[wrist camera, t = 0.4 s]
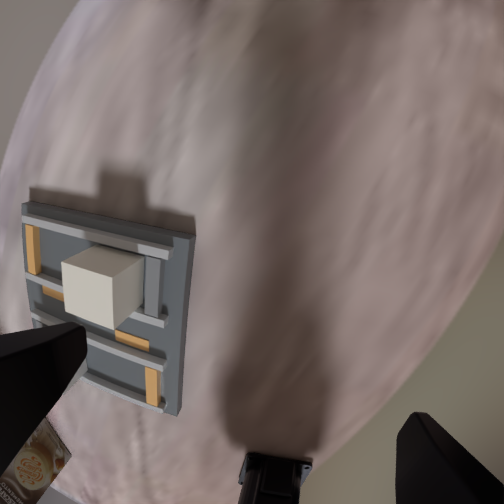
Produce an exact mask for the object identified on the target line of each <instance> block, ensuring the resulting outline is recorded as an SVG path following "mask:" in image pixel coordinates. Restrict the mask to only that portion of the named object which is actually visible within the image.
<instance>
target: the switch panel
mask: <svg viewBox="0 0 504 504" xmlns="http://www.w3.org/2000/svg"><path fill="white" fill-rule="evenodd" d="M22 238H23V253H24V265H25V275H26V283H27V291H28V298H29V305H30V311H31V316H32V322H33V327H34V329H35V328H40V327H45V326H51V325H56V324H61V323H66V322H71V321H73V322H76V323H78V324H81V325H83V326H84V327H85V329H86V335H87V347H88V352H87V356H86V362H87V368H88V370H87V371H86V372H85V374H84V375H83V376H82V377H81V378H80V379H79V380H82V381H84V382H86V383H88V384H90V385H92V386H94V387H97V388H99V389H101V390H103V391H106V392H108V393H110V394H112V395H115V396H117V397H120V398H122V399H124V400H127V401H129V402H132V403H135V404H137V405H140V406H142V407H145V408H148V409H150V410H153V411H156V412H159V413H162V414H163V413H164V412H165V413H168V414H171V415H174V416H178V414H179V412H180V410H181V406H182V386H183V369H184V354H185V341H186V328H187V316H188V305H189V295H190V285H191V275H192V266H193V257H194V248H195V239H196V235H192V234H187V233H182V232H178V231H173V230H168V229H163V228H158V227H154V226H149V225H144V224H139V223H134V222H130V221H125V220H120V219H115V218H110V217H106V216H101V215H96V214H91V213H86V212H81V211H76V210H72V209H67V208H62V207H57V206H52V205H47V204H42V203H37V202H32V201H30V202H26V203H22ZM95 245H101V246H105V247H109V248H113V249H116V250H120V251H124V252H128V253H132V254H136V255H140V256H144V257H145V258H144V280H143V304H141V305H140V306H139V307H138V308H137V309H136V310H135V311H134V312H133V313H132V314H131V315H130V316H129V317H127V318H126V319H125V320H124V321H123V322H122V323H121V324H120V325H119V326H118V327H117V328H116V329H115V330H112V329H109V328H106V327H104V326H101V325H98V324H96V323H93V322H91V321H88V320H86V319H83V318H81V317H78V316H76V315H73V314H71V313H68V312H66V311H65V303H64V293H63V281H62V266H61V262H62V261H64V260H66V259H68V258H70V257H72V256H74V255H76V254H78V253H80V252H82V251H84V250H86V249H88V248H91V247H93V246H95Z"/></svg>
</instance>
